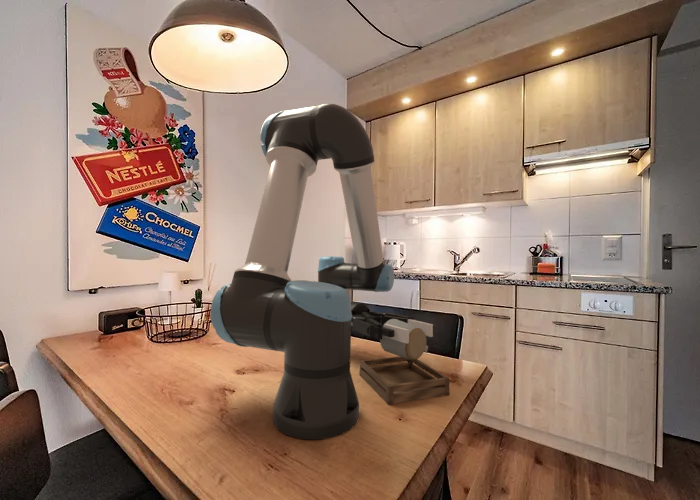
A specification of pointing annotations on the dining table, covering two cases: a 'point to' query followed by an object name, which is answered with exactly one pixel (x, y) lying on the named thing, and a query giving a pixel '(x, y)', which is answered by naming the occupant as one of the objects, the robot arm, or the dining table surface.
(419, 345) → the ceramic mug
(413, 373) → the walnut crate
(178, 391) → the dining table surface
